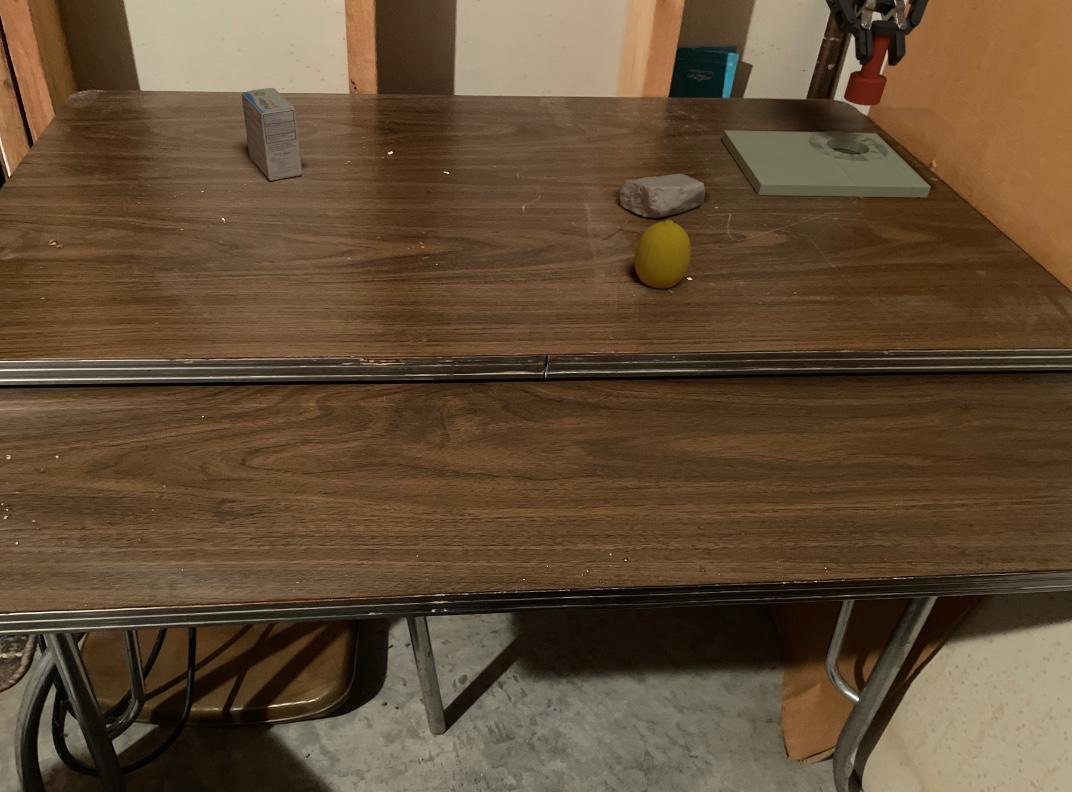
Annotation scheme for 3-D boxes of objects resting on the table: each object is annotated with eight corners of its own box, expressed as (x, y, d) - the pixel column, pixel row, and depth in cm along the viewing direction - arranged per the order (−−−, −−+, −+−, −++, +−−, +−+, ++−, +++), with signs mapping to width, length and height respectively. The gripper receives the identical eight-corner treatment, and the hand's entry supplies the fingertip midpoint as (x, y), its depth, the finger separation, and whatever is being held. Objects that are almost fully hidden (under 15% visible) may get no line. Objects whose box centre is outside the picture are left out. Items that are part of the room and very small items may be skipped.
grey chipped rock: (677, 222, 116) (689, 176, 114) (708, 230, 111) (722, 181, 109) (613, 209, 112) (625, 160, 110) (642, 217, 106) (656, 165, 105)
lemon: (619, 283, 97) (630, 213, 92) (663, 274, 99) (676, 204, 94) (648, 309, 93) (661, 237, 88) (693, 298, 95) (708, 228, 90)
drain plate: (872, 142, 131) (875, 132, 130) (926, 198, 117) (931, 186, 116) (721, 139, 129) (723, 129, 128) (758, 195, 115) (761, 184, 114)
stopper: (871, 94, 123) (895, 18, 117) (885, 106, 120) (910, 29, 114) (838, 93, 123) (860, 17, 117) (851, 105, 119) (874, 28, 113)
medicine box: (302, 176, 114) (297, 107, 109) (268, 182, 113) (260, 112, 107) (281, 153, 120) (275, 86, 114) (248, 159, 118) (240, 90, 112)
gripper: (835, -88, 113) (840, 45, 112) (945, -84, 114) (951, 48, 113) (809, -50, 121) (814, 75, 120) (912, -47, 122) (918, 78, 120)
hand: (881, 61), depth 116 cm, fingers closed on stopper, 3 cm apart
